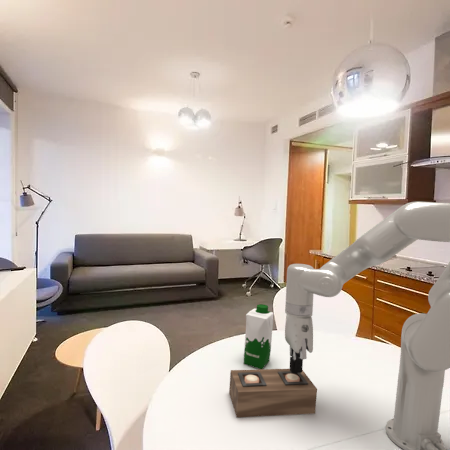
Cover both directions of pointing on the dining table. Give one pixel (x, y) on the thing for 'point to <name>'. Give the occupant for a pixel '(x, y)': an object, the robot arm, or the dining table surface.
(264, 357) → the milk carton
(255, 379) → the peg
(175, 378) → the dining table surface
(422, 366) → the robot arm
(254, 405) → the walnut block
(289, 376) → the peg
